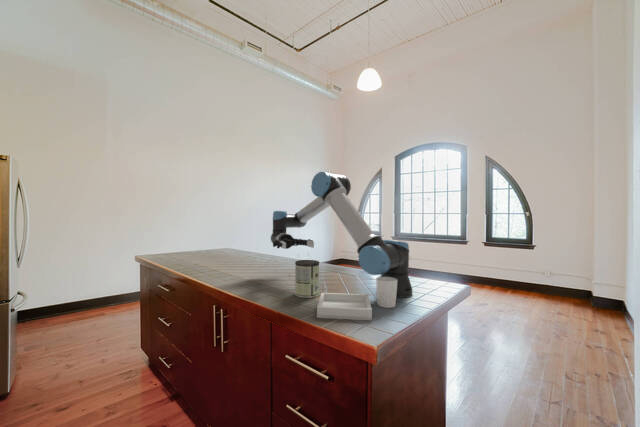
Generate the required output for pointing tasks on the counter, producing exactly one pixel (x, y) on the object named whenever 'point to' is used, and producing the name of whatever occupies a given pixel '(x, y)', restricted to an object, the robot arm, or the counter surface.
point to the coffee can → (307, 278)
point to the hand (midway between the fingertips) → (299, 245)
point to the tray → (344, 306)
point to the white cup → (386, 291)
